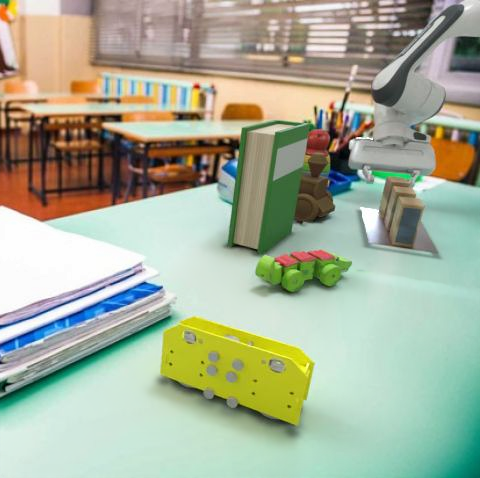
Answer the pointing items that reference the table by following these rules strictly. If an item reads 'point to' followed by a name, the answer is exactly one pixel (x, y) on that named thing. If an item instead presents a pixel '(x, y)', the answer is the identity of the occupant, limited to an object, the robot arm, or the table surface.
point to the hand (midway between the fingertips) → (390, 184)
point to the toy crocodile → (302, 268)
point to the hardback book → (267, 183)
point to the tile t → (406, 221)
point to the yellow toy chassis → (238, 367)
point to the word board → (381, 234)
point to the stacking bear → (317, 149)
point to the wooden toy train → (314, 191)
